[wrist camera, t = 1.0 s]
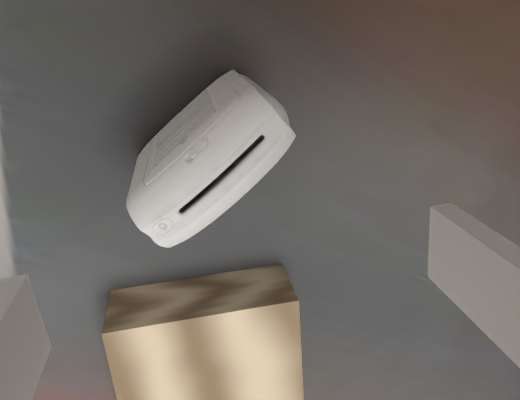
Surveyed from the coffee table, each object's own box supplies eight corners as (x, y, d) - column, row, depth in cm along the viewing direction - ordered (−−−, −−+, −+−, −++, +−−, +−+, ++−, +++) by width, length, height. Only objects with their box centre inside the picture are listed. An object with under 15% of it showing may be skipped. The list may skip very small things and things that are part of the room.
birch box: (280, 261, 39) (298, 300, 34) (288, 390, 45) (305, 442, 39) (111, 288, 37) (101, 333, 32) (140, 419, 43) (135, 478, 37)
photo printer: (170, 196, 35) (171, 278, 24) (128, 156, 34) (107, 223, 22) (272, 104, 34) (323, 144, 23) (233, 58, 33) (267, 77, 21)
